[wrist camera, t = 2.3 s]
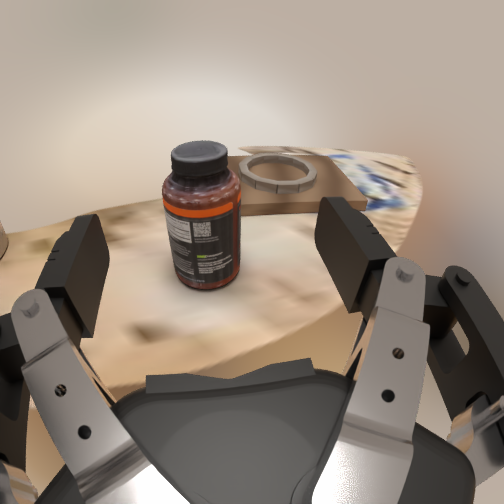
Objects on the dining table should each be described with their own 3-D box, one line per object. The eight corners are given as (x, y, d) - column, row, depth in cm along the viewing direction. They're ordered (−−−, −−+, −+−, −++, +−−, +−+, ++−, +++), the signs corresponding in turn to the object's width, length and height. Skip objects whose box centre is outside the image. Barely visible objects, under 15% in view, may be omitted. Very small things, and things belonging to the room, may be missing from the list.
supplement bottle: (217, 239, 30) (215, 130, 23) (253, 274, 27) (261, 152, 20) (163, 262, 28) (146, 147, 20) (194, 303, 24) (179, 174, 17)
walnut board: (203, 218, 33) (202, 197, 31) (200, 167, 44) (199, 150, 42) (365, 210, 36) (370, 192, 34) (325, 164, 47) (328, 149, 45)
